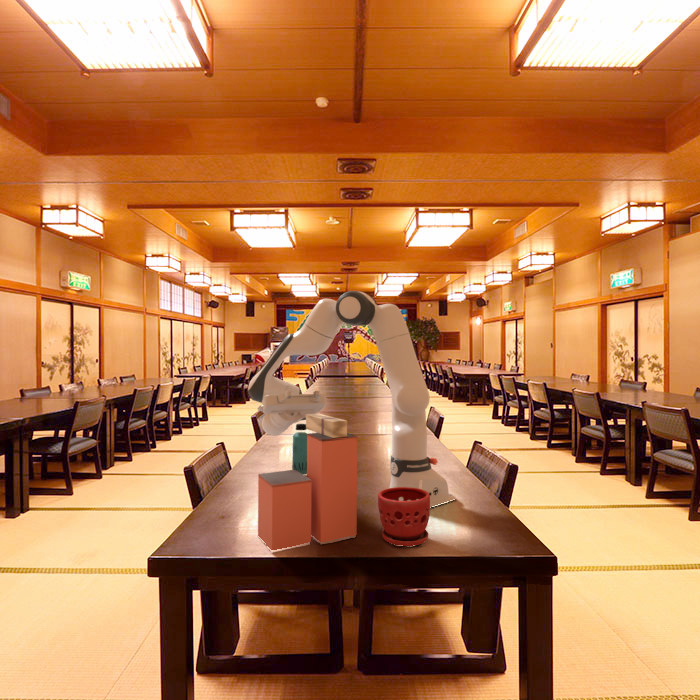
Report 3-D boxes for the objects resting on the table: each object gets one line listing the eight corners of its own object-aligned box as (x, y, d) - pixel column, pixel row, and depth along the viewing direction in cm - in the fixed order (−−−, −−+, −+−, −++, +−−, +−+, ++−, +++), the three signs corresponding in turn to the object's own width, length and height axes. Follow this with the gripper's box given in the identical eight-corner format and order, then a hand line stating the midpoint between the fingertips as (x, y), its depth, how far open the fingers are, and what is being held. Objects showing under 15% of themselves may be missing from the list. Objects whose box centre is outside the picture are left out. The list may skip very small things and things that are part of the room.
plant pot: (424, 529, 123) (424, 485, 123) (434, 551, 110) (435, 501, 110) (375, 530, 122) (375, 485, 122) (380, 551, 109) (380, 501, 109)
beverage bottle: (300, 473, 178) (301, 421, 178) (312, 476, 174) (313, 423, 174) (288, 476, 173) (288, 423, 173) (300, 480, 169) (301, 425, 169)
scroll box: (319, 427, 131) (319, 413, 131) (347, 436, 116) (347, 420, 116) (305, 428, 129) (305, 414, 129) (332, 438, 114) (332, 421, 114)
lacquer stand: (334, 521, 128) (335, 428, 128) (356, 538, 117) (357, 436, 117) (257, 536, 118) (258, 435, 118) (274, 555, 107) (274, 444, 107)
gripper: (254, 401, 142) (269, 383, 132) (314, 400, 152) (331, 383, 142) (257, 420, 140) (272, 403, 129) (317, 418, 150) (335, 402, 139)
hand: (303, 393), depth 136 cm, fingers open, 8 cm apart
